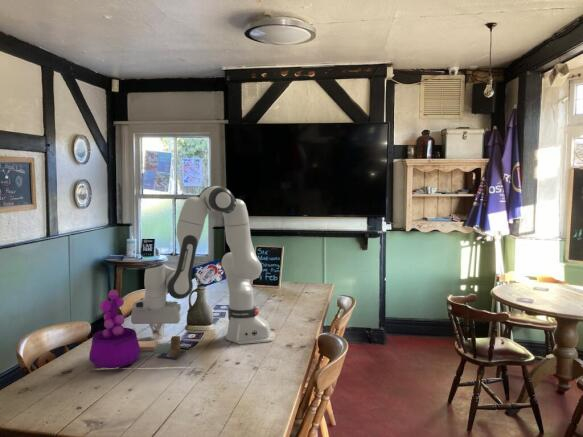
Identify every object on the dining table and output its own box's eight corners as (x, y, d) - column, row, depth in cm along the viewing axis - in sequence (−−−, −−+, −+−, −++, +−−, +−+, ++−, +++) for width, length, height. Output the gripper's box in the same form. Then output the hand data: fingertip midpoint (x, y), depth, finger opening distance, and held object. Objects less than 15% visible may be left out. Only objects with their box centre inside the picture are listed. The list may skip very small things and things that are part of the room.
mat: (174, 344, 212) (174, 343, 211) (169, 354, 200) (169, 353, 200) (132, 345, 210) (132, 343, 210) (125, 355, 199) (125, 353, 199)
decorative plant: (91, 378, 177) (89, 298, 174) (87, 360, 193) (84, 287, 190) (144, 368, 185) (142, 292, 182) (136, 352, 202) (134, 282, 199)
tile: (158, 341, 209) (137, 341, 208) (154, 346, 202) (132, 347, 201) (158, 345, 209) (137, 345, 208) (154, 351, 202) (132, 351, 201)
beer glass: (161, 341, 215) (160, 308, 214) (147, 340, 216) (146, 307, 215) (168, 336, 222) (167, 304, 220) (154, 335, 223) (153, 303, 222)
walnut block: (180, 354, 200) (180, 336, 199) (179, 357, 197) (178, 338, 196) (172, 355, 200) (172, 336, 199) (171, 357, 196) (170, 338, 196)
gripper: (181, 299, 207) (182, 330, 208) (133, 299, 206) (134, 331, 207) (179, 303, 201) (179, 335, 202) (129, 303, 200) (130, 336, 201)
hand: (156, 333), depth 205 cm, fingers closed
